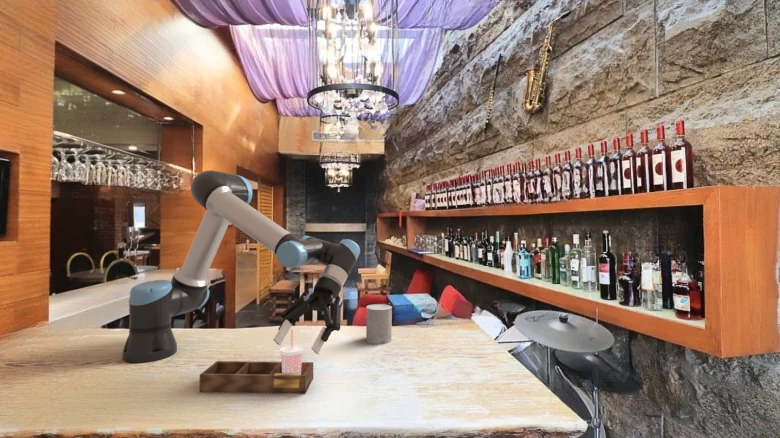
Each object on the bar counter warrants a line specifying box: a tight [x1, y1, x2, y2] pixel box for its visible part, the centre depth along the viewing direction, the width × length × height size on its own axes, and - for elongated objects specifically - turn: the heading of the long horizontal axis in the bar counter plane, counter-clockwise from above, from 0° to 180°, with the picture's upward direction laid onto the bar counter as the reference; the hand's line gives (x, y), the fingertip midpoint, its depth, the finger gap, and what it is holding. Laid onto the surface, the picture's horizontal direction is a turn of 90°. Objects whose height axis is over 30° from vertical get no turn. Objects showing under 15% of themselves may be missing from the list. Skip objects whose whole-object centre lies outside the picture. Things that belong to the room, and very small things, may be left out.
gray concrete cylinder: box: [365, 303, 393, 345], centre depth 143 cm, size 10×10×12 cm
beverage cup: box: [279, 329, 304, 375], centre depth 103 cm, size 6×6×14 cm
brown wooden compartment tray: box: [199, 360, 314, 395], centre depth 103 cm, size 27×10×5 cm, turn 89°
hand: (295, 347), depth 103 cm, fingers open, 13 cm apart
